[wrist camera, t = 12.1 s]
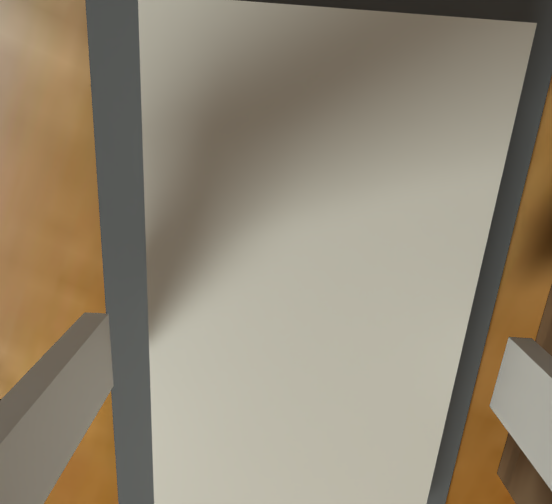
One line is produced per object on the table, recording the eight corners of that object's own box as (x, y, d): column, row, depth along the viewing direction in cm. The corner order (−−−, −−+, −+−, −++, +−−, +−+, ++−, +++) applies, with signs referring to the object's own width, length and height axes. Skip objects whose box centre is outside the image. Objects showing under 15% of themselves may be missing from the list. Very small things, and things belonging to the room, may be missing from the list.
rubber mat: (85, -95, 13) (78, -102, 13) (574, -55, 14) (585, -62, 13) (125, 546, 22) (122, 555, 21) (425, 559, 22) (429, 569, 22)
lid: (167, 21, 14) (137, -8, 11) (480, 43, 14) (537, 23, 11) (174, 510, 20) (156, 579, 17) (387, 520, 21) (406, 590, 18)
